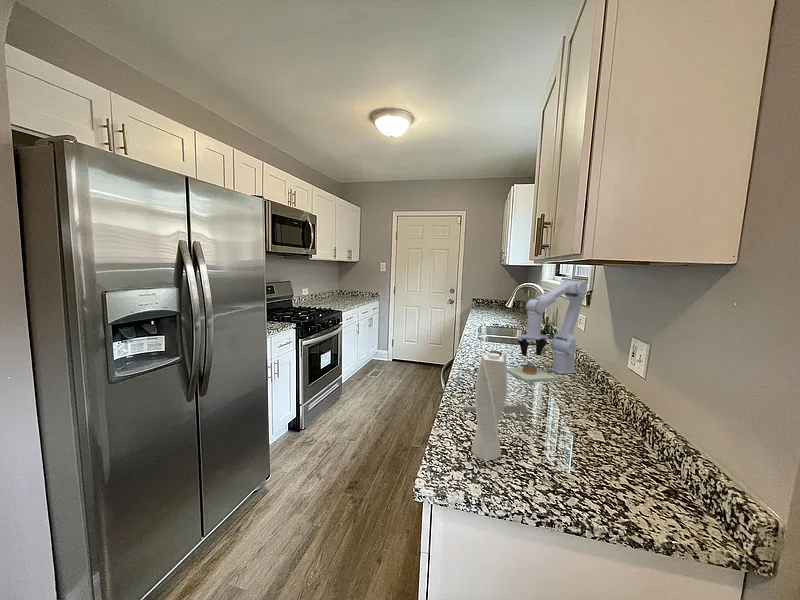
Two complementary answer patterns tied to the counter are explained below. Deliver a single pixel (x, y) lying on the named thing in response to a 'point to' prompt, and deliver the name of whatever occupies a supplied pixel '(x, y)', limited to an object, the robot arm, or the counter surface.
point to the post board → (530, 378)
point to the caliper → (506, 410)
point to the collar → (529, 370)
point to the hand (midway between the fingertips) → (531, 355)
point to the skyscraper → (489, 405)
